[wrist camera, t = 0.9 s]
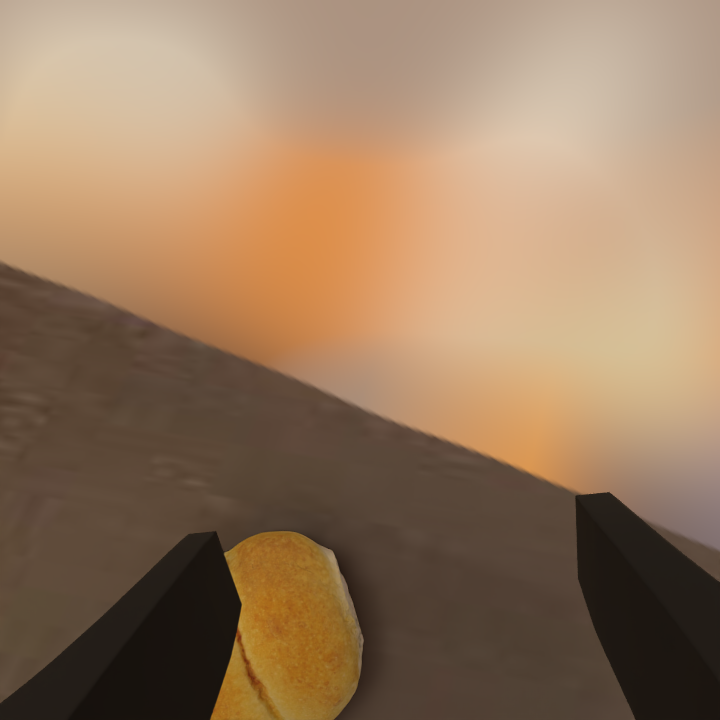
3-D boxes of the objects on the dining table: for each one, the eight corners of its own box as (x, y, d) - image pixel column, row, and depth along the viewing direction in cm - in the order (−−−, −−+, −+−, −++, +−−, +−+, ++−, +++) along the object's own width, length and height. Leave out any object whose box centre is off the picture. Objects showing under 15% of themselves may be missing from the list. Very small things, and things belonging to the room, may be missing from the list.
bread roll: (127, 585, 23) (91, 602, 19) (319, 508, 24) (322, 510, 21) (181, 790, 21) (153, 854, 17) (384, 691, 23) (401, 730, 19)
